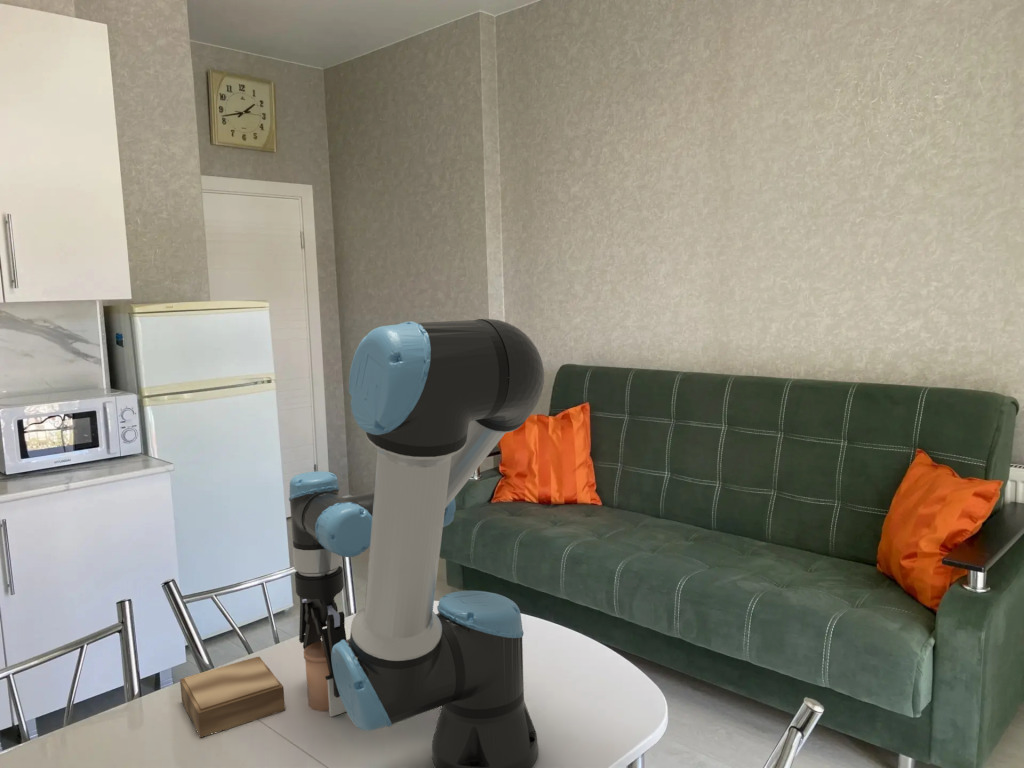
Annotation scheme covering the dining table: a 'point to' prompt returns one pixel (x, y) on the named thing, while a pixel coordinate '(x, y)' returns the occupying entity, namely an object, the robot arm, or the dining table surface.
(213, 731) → the stand
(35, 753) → the dining table surface
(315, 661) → the canister
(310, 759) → the dining table surface
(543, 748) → the dining table surface
